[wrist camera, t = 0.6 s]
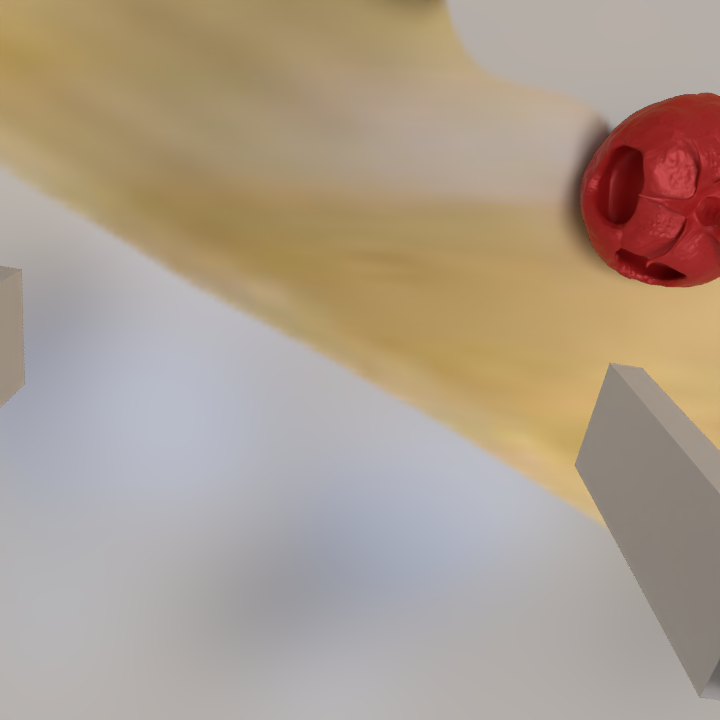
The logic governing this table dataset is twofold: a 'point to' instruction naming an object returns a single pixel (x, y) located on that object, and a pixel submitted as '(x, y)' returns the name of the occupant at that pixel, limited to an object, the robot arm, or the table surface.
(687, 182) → the pomegranate
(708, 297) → the table surface
